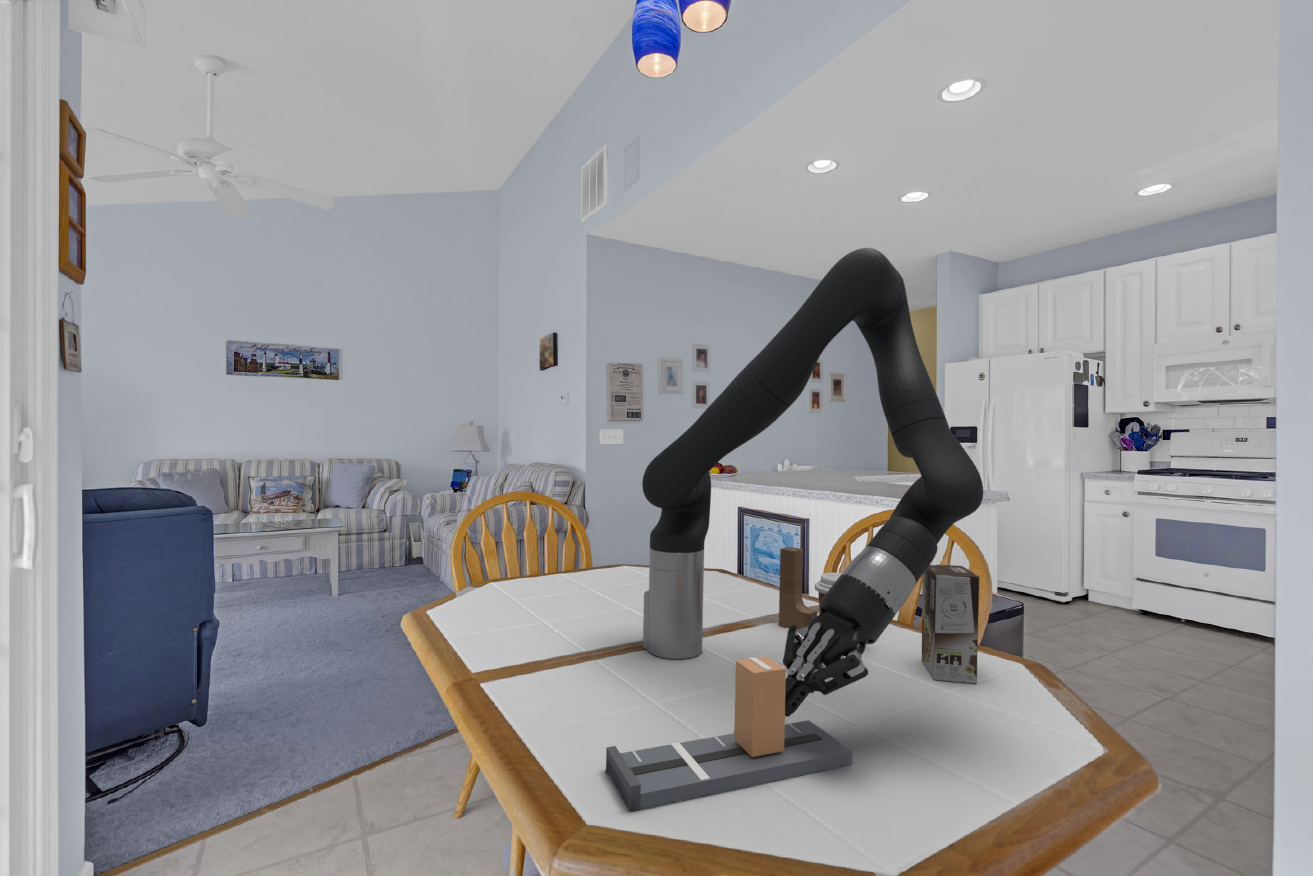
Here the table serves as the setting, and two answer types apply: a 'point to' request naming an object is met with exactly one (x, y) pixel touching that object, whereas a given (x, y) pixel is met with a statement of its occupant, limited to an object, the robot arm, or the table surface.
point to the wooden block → (792, 590)
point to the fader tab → (759, 706)
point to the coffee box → (950, 623)
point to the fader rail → (718, 765)
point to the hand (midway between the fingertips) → (779, 710)
